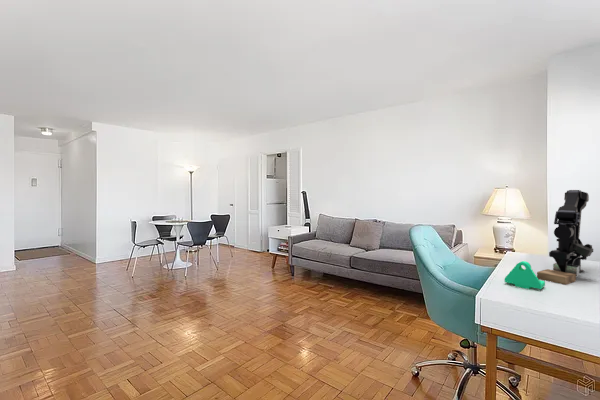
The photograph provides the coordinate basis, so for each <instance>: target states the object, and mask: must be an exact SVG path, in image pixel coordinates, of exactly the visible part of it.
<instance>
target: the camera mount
mask: <svg viewBox="0 0 600 400" xmlns="http://www.w3.org/2000/svg"><path fill="white" fill-rule="evenodd" d="M522 266H524V267H525V268H522ZM504 283H508V284H513V285H514V287H515V288H516V287H517V288H522V289H527V290H531V288H533V289H540V290H541V289H543V288H544V287H545V286H546V282H545V280H541V279H538V278H537V274H535V272H534V271H533V269H532V266H531V264H530V263H529V262H528V261H525V260H524V261H520V262H518V263H516V265H515V266H514V267H513V268H512V269H511V270H510V271H509V273H508V274H507V275H506V276H505V277H504Z"/></svg>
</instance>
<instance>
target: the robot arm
mask: <svg viewBox="0 0 600 400" xmlns="http://www.w3.org/2000/svg"><path fill="white" fill-rule="evenodd" d="M589 199H590V198H589V193H588V192H585V191H582V190H580V189H569V190H566V192H564V204H563V205H562V206H559V207H558V210H557V211H555V216H554V221H553V225H557V227H555V229H554V230H553V234H554V236H555V238H557V239H556V242H557V246H558V247H556V248H555V249H552V250H550V251H549V252H548V254H549V255H548V257H550V258H552V259H553V260H554V261H555V263H557V264H558V266H559V268H560V270H561V272H565V271H566V267H567V264H571V265H578V266H579V273H581V272H584V269H581V268H582V267H581V265H582V263H581V262H582V261H584V260H585V261H586V260H587V258H588V257H590V256H591V255H592V254H593V253H594V248H593V245H592V244H589V243H586V244H583V242H582V240H581V239H580V236H581V235H580V233H581V223H582V221H581V220H582V210H584V209H585V208H586V207H587V203H588V202H589Z"/></svg>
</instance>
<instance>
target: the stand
mask: <svg viewBox="0 0 600 400" xmlns="http://www.w3.org/2000/svg"><path fill="white" fill-rule="evenodd" d="M536 276H537V278H538V279H539V280H541V281H545V280H546V282H550V281H551V283H555V284H560V285H564V286H566V285H570V284H572V283H574V282H577V281H576V280H577V277H576V274H572V273H566V272H561V271H555V270H553V269H549V268H547V269H543V270H540V271H537V272H536Z"/></svg>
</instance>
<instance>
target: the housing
mask: <svg viewBox="0 0 600 400" xmlns="http://www.w3.org/2000/svg"><path fill="white" fill-rule="evenodd" d="M552 268H553V269H552V270H555V271H561V270H560V268H559V266H558V264H557V263H556V262H554V263H553V264H552ZM565 272H566V273H572V274H576V278H577V277H579V276H580V272H579V266H578V265H571V264H567V267H566V271H565Z"/></svg>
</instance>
